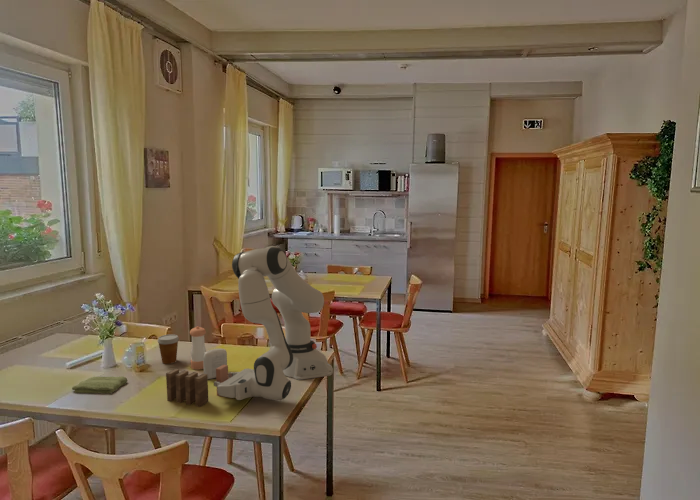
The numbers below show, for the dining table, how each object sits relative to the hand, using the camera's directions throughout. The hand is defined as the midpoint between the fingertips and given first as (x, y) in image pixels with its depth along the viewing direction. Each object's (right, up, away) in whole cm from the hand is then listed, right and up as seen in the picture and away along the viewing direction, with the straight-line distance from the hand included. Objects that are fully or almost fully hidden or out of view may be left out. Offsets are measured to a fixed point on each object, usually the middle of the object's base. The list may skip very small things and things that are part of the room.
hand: (222, 378), depth 197 cm
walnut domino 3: (-10, -7, -7) cm, 14 cm away
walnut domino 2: (-14, -7, -6) cm, 16 cm away
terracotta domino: (0, -6, +1) cm, 6 cm away
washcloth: (-52, -6, +7) cm, 53 cm away
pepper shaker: (-18, -2, +30) cm, 35 cm away
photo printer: (-7, -4, +18) cm, 20 cm away
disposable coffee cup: (-34, -1, +36) cm, 50 cm away
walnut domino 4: (-5, -7, -9) cm, 13 cm away
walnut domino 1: (-18, -7, -4) cm, 19 cm away
